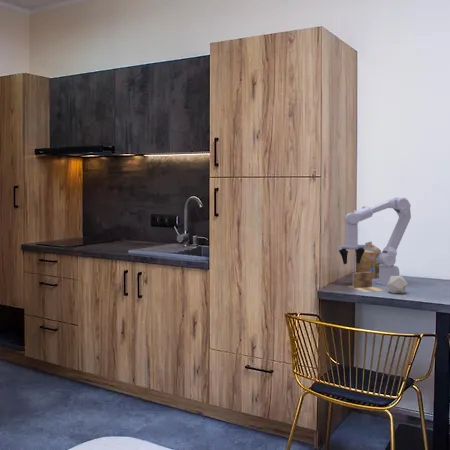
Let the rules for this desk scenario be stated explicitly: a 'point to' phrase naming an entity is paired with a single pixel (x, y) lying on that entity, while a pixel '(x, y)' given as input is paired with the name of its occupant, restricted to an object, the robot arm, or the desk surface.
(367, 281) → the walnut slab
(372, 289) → the light wood board
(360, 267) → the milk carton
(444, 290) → the desk surface
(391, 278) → the die
